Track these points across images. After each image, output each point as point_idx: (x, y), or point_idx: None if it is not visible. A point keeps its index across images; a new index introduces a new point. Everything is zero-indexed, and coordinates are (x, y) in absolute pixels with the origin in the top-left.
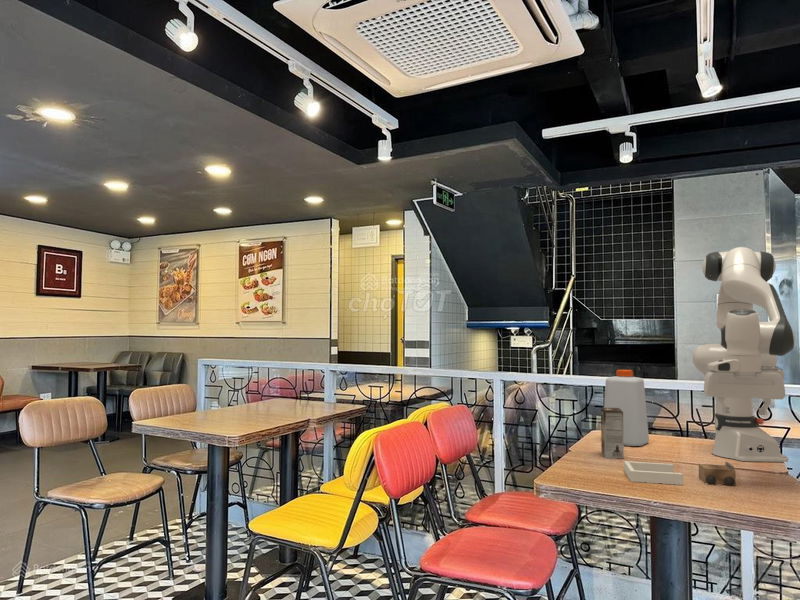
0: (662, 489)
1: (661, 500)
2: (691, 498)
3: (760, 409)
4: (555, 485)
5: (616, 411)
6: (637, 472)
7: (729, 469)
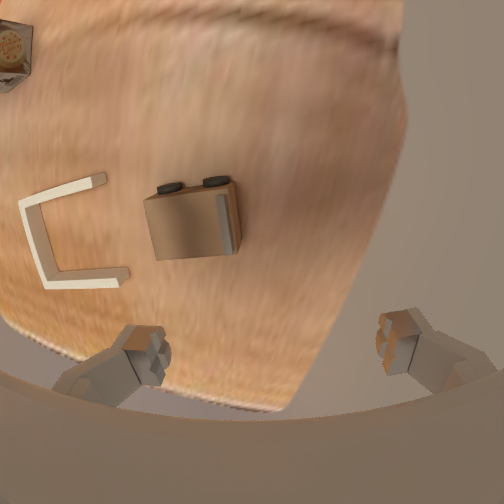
0: (105, 316)
1: None
2: None
3: (386, 366)
4: (13, 324)
5: None
6: (53, 288)
7: (221, 249)
